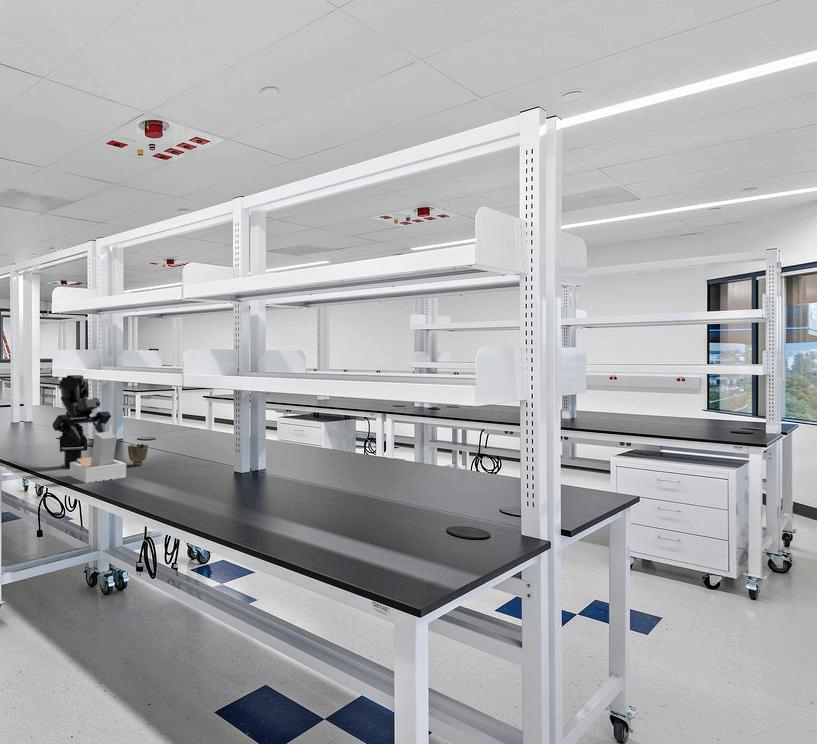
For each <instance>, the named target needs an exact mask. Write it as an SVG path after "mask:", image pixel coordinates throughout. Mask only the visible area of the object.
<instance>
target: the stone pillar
mask: <svg viewBox="0 0 817 744" xmlns="http://www.w3.org/2000/svg"><path fill="white" fill-rule="evenodd" d="M93 438H94V439H93V444H92V445H93V446H92V452H91V457H92V458H91V467H96V466H104V465H113V460H115V459H114V458H115V454H116V453H115V452H116V445H117V440H118V436H117V435H115V433H114V434H113V433H112V432H110V431H105V432H102V433H98V432H97V433H94V437H93Z"/></svg>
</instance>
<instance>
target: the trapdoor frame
mask: <svg viewBox="0 0 817 744" xmlns="http://www.w3.org/2000/svg"><path fill="white" fill-rule="evenodd" d="M113 463H114V464H113V465H104V466H96V467H86V466H84V465H81V464H78V462H77V461H75V462H70V468H69V477H70V478H73V479H76V480H78V481H80V482H83V483H84V482H85V484H88V483H89V482H90V483H96V482H95V481H97V482H102V481H103V480H104V481H111V480H110V479H112V480H118V478H119V479H125V477H126V478H127V463H125V462H122V461H119V460H117V459H114V460H113ZM104 481H103V482H104ZM90 483H89V484H90Z"/></svg>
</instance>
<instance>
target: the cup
mask: <svg viewBox="0 0 817 744" xmlns="http://www.w3.org/2000/svg"><path fill="white" fill-rule="evenodd" d="M148 451H149V445H148V444H143V443H141V444H140V443H137V444H136V445H134V444H129V445H127V453H128V459H129V461H131V462H132V465H133V466H135V467H140V466H139V465H141V466H143V463H144V461H145V460H146V458H147V456H148Z"/></svg>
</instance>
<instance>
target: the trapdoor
mask: <svg viewBox="0 0 817 744" xmlns="http://www.w3.org/2000/svg"><path fill="white" fill-rule="evenodd" d="M91 458H92V456H89V457H82V458H78V459H77V462H78V464H81V465H84V466H86V467H91ZM113 464H114V463H113Z"/></svg>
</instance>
